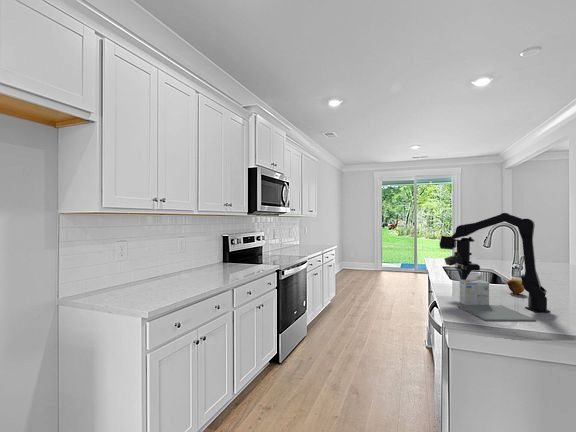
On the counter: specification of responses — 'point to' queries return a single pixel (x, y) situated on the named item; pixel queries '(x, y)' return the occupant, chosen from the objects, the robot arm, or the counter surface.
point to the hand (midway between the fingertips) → (462, 282)
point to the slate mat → (495, 313)
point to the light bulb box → (474, 292)
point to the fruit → (515, 286)
